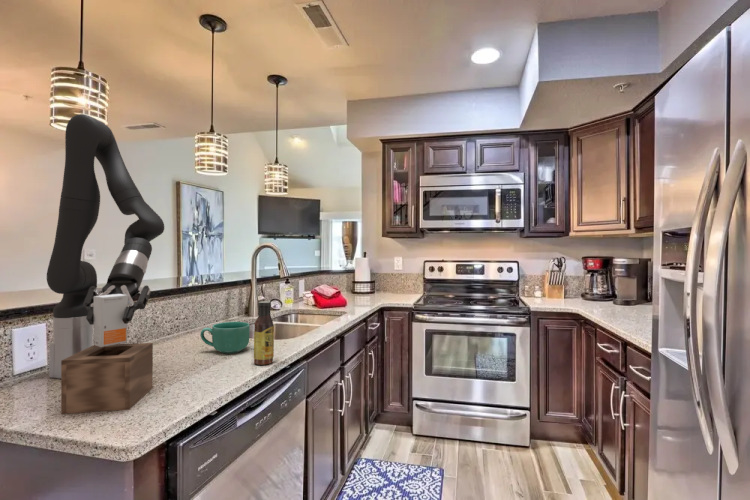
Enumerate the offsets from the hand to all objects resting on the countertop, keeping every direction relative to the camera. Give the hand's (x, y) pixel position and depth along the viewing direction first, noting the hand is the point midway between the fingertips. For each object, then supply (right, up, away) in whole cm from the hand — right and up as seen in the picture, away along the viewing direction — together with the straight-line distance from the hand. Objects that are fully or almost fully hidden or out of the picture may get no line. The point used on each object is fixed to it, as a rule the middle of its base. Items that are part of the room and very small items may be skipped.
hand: (108, 322), depth 94 cm
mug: (+11, -19, +46) cm, 51 cm away
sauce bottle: (+28, -19, +32) cm, 47 cm away
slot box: (0, -19, +2) cm, 19 cm away
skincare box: (0, -6, +2) cm, 6 cm away
